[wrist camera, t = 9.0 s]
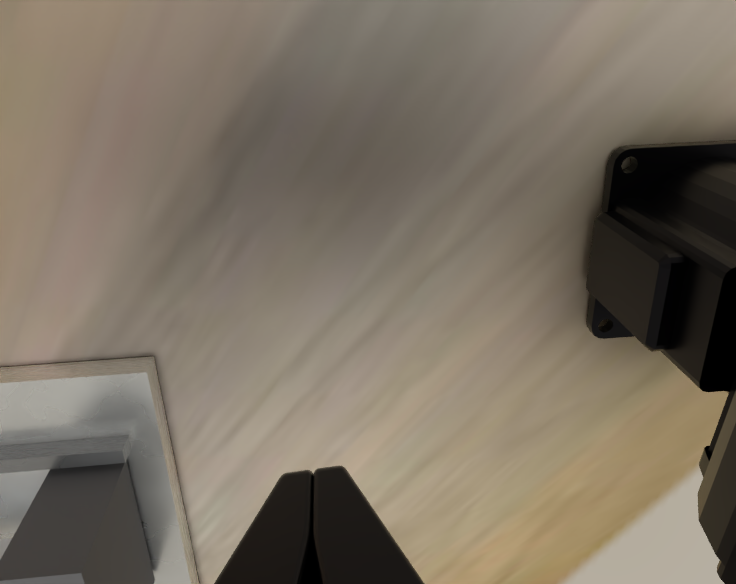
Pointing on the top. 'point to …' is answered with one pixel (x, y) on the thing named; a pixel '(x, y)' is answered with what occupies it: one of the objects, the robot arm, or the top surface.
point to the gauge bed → (95, 446)
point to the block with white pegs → (79, 532)
